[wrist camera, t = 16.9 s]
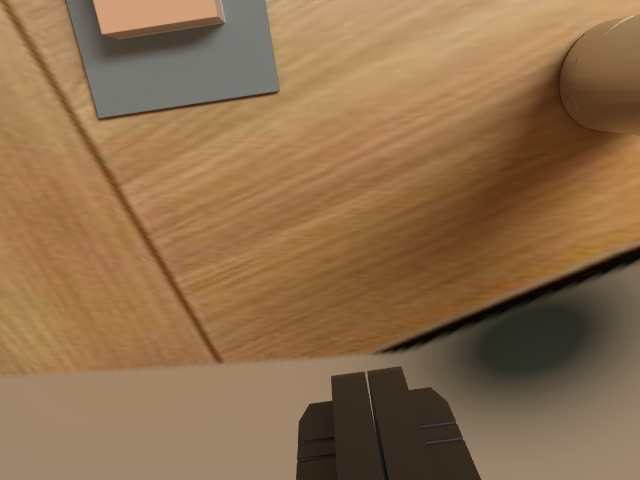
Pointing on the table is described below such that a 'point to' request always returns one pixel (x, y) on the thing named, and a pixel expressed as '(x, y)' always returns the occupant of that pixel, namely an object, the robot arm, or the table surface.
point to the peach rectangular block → (155, 16)
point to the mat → (177, 61)
